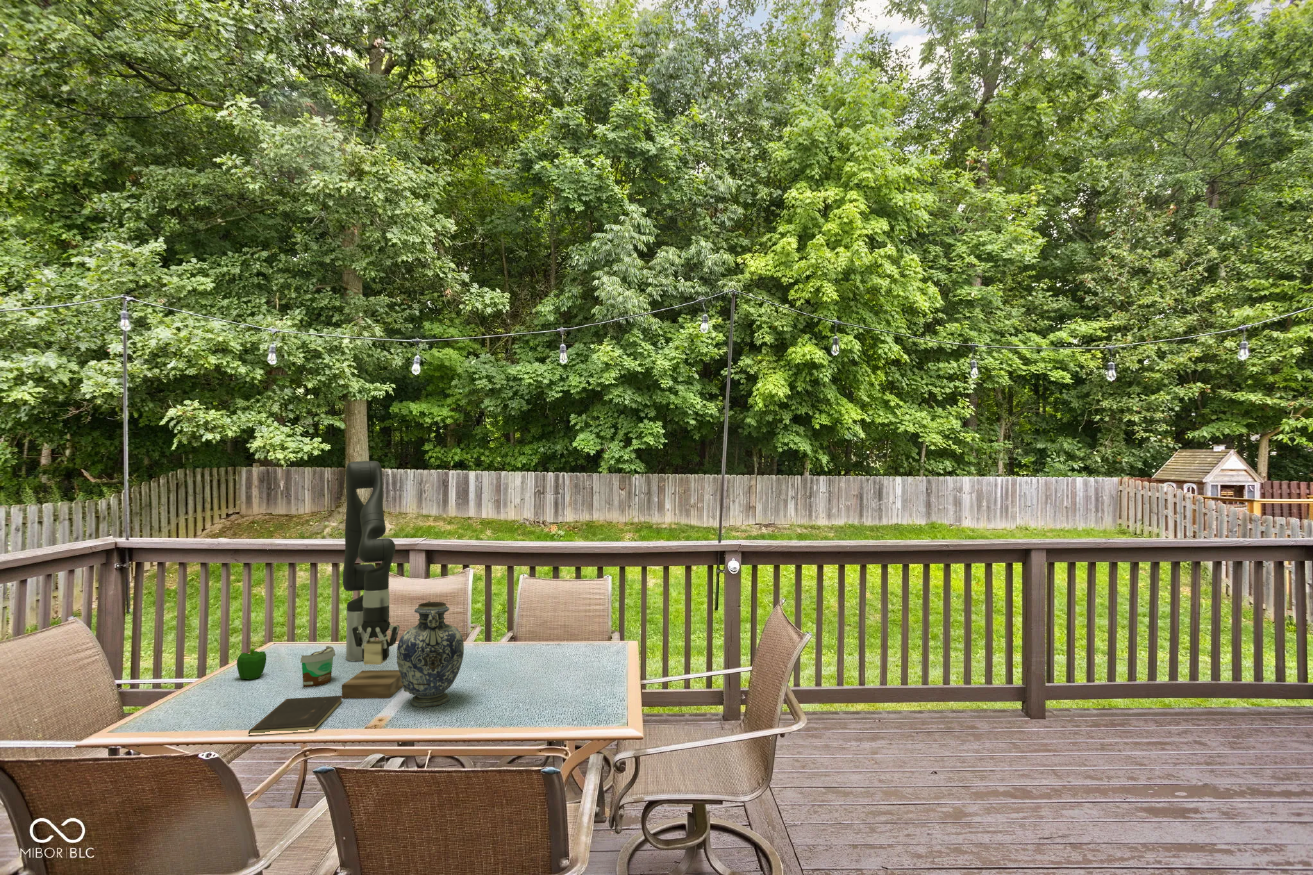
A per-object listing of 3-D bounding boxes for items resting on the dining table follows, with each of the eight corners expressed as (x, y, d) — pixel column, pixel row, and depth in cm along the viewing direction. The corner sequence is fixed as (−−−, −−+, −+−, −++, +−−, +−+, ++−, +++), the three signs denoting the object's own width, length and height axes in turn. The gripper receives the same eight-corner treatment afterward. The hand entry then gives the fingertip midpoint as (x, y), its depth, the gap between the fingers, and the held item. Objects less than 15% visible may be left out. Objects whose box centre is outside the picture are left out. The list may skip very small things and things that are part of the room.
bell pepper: (240, 675, 221) (240, 644, 221) (268, 672, 223) (268, 642, 224) (232, 683, 213) (233, 651, 213) (262, 680, 215) (262, 648, 216)
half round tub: (317, 689, 206) (317, 656, 206) (299, 688, 207) (300, 655, 207) (343, 677, 218) (344, 646, 218) (326, 676, 219) (327, 645, 219)
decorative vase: (394, 693, 201) (396, 599, 202) (458, 686, 208) (460, 595, 210) (396, 718, 181) (399, 613, 183) (467, 709, 189) (469, 608, 190)
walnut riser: (362, 683, 212) (362, 670, 212) (406, 682, 212) (406, 669, 212) (341, 698, 198) (342, 684, 198) (389, 697, 198) (389, 684, 198)
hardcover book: (343, 703, 195) (343, 695, 195) (315, 734, 172) (315, 725, 172) (284, 706, 193) (284, 698, 193) (248, 738, 170) (248, 729, 170)
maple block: (370, 659, 207) (371, 640, 208) (387, 659, 207) (387, 640, 208) (363, 664, 202) (364, 644, 203) (380, 664, 202) (380, 644, 203)
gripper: (404, 601, 210) (403, 656, 209) (358, 601, 209) (357, 657, 209) (395, 606, 202) (394, 663, 201) (347, 606, 202) (346, 664, 201)
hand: (375, 659), depth 205 cm, fingers closed on maple block, 5 cm apart
